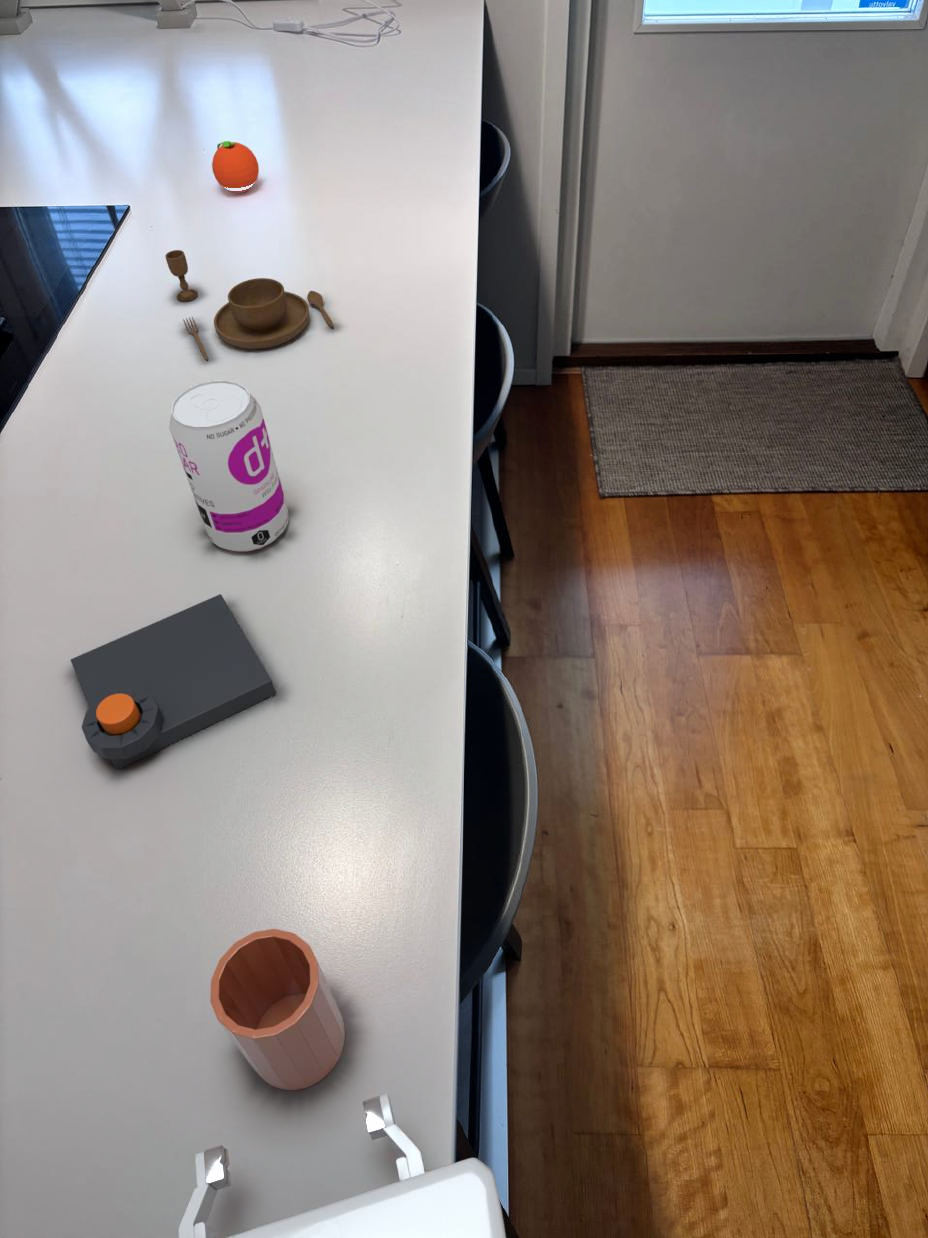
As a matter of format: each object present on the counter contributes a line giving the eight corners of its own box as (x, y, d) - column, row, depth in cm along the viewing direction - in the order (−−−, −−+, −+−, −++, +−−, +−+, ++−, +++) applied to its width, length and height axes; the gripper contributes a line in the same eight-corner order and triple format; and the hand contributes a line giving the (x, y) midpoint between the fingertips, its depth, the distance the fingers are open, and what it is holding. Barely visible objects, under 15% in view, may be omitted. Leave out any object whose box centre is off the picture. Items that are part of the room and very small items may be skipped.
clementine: (206, 189, 148) (193, 142, 143) (243, 174, 151) (232, 127, 145) (234, 204, 144) (222, 156, 138) (272, 188, 147) (261, 141, 141)
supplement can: (306, 516, 96) (275, 390, 85) (253, 567, 91) (213, 442, 80) (246, 490, 99) (208, 366, 88) (191, 538, 95) (144, 414, 83)
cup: (272, 1110, 59) (233, 1060, 52) (236, 1023, 63) (194, 964, 55) (361, 1055, 61) (336, 999, 53) (320, 974, 65) (292, 910, 57)
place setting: (206, 371, 114) (192, 327, 110) (170, 295, 127) (157, 253, 122) (343, 331, 118) (335, 287, 114) (295, 261, 131) (286, 220, 126)
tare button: (108, 741, 75) (101, 729, 74) (98, 715, 77) (91, 703, 75) (145, 724, 76) (139, 712, 75) (133, 698, 77) (127, 687, 76)
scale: (109, 784, 76) (94, 760, 73) (67, 677, 84) (52, 652, 81) (280, 701, 80) (272, 676, 78) (225, 607, 88) (216, 581, 85)
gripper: (550, 1355, 44) (469, 1052, 53) (99, 1518, 41) (94, 1168, 50) (549, 1365, 48) (474, 1085, 57) (144, 1512, 46) (132, 1194, 55)
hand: (294, 1125), depth 54 cm, fingers open, 8 cm apart
